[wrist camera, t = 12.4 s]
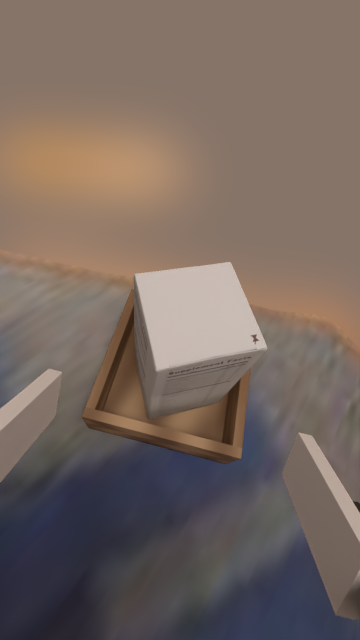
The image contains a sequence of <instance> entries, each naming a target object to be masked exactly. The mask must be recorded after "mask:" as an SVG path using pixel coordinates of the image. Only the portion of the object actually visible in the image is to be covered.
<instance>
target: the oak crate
mask: <svg viewBox="0 0 360 640" xmlns="http://www.w3.org/2000/svg"><path fill="white" fill-rule="evenodd" d="M249 378H250V369H249V370H248V371H247V372H246V373H245V374H244V375H243V376H242V377H241V378H240V379H239V381H238V382H237V383H236V384H235V385H234V386H233V387H232V388H231V389H230V390H229V392H228V393H227V394H226V395H225V396H224V397H223V398H222V399H221V400H220V401H219V403H216V404H213V405H209V406H204V407H200V408H196V409H192V410H188V411H184V412H180V413H176V414H172V415H168V416H164V417H159V418H155V419H148V418H147V414H146V410H145V405H144V400H143V395H142V391H141V386H140V381H139V376H138V371H137V366H136V360H135V332H134V290H133V289H131V292H130V294H129V297H128V300H127V302H126V305H125V307H124V310H123V312H122V315H121V317H120V320H119V323H118V325H117V328H116V330H115V333H114V335H113V338H112V340H111V343H110V346H109V348H108V351H107V353H106V356H105V358H104V361H103V363H102V366H101V369H100V371H99V374H98V376H97V379H96V381H95V384H94V387H93V389H92V392H91V394H90V397H89V399H88V402H87V404H86V407H85V410H84V412H83V415H82V418H83V419H84V421H85V422H86V424H87V425H88V427H89V428H92V429H95V430H99V431H103V432H107V433H110V434H114V435H118V436H122V437H126V438H129V439H133V440H137V441H141V442H145V443H148V444H152V445H156V446H160V447H163V448H167V449H171V450H175V451H179V452H182V453H186V454H190V455H194V456H198V457H201V458H205V459H209V460H213V461H216V462H220V463H224V464H226V463H229V462H232V461H236V460H239V459H241V454H242V445H243V435H244V426H245V416H246V407H247V397H248V387H249Z"/></svg>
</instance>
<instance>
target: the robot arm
mask: <svg viewBox="0 0 360 640" xmlns="http://www.w3.org/2000/svg"><path fill="white" fill-rule="evenodd" d="M62 373H63V372H60V371H56V370H52V369H48V370H47V371H45V372H44V373H43V374H42V375H41V376H39V377H38V378H37V379H36V380H35V381H33V382H32V383H31V384H30V385H29V386H27V387H26V388H25V389H24V390H23V391H21V392H20V393H19V394H18V395H16V396H15V397H14V398H13V399H12V400H10V401H9V402H8V403H7V404H6V405H4V406H3V407H2V408H1V409H0V483H1V481H2V480H3V479H4V478H5V477H6V475H7V474H8V473H9V472H10V471H11V469H12V468H13V467H14V466H15V465H16V463H17V462H18V461H19V460H20V458H21V457H22V456H23V455H24V454H25V452H26V451H27V450H28V449H29V448H30V446H31V445H32V444H33V443H34V442H35V440H36V439H37V438H38V437H39V436H40V434H41V433H42V432H43V431H44V430H45V428H46V427H47V426H48V425H49V423H50V422H51V421H52V420H53V419H54V417H55V415H56V409H57V403H58V397H59V391H60V385H61V379H62ZM282 476H283V479H284V481H285V484H286V486H287V489H288V492H289V494H290V497H291V500H292V502H293V505H294V507H295V510H296V513H297V515H298V518H299V521H300V523H301V526H302V528H303V531H304V534H305V536H306V539H307V541H308V544H309V547H310V549H311V552H312V555H313V557H314V560H315V562H316V565H317V568H318V570H319V573H320V575H321V578H322V581H323V583H324V586H325V589H326V591H327V594H328V596H329V599H330V602H331V604H332V607H333V609H334V612H335V615H338V616H342V617H346V618H350V619H354V620H357V619H358V617H359V615H360V503H358V502H354V501H352V500H351V498H350V496H349V495H348V493H347V492H346V490H345V488H344V487H343V485H342V483H341V482H340V480H339V479H338V477H337V475H336V474H335V472H334V471H333V469H332V467H331V466H330V464H329V463H328V461H327V459H326V458H325V456H324V454H323V453H322V451H321V450H320V448H319V446H318V445H317V443H316V442H315V440H314V438H313V437H312V436H311V435H307V434H303V433H299V432H298V434H297V437H296V439H295V442H294V444H293V447H292V449H291V452H290V454H289V457H288V459H287V462H286V464H285V467H284V469H283V472H282Z"/></svg>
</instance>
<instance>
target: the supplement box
mask: <svg viewBox="0 0 360 640" xmlns="http://www.w3.org/2000/svg"><path fill="white" fill-rule="evenodd" d="M134 332H135V360H136V366H137V371H138V376H139V381H140V386H141V391H142V395H143V400H144V405H145V410H146V414H147V418H148V419H155V418H159V417H164V416H168V415H172V414H176V413H180V412H184V411H188V410H192V409H196V408H200V407H204V406H209V405H213V404H216V403H219V401H220V400H221V399H222V398H223V397H224V396H225V395H226V394H227V393H228V392H229V390H230V389H231V388H232V387H233V386H234V385H235V384H236V383H237V382H238V381H239V379H240V378H241V377H242V376H243V375H244V374H245V373H246V372H247V371H248V370H249V369H250V368H251V366H252V365H253V364H254V363H255V362H256V361H257V360H258V359H259V358H260V357H261V356H262V354H263V353H264V352H265V351H266V350H267V346H266V343H265V341H264V338H263V336H262V334H261V331H260V329H259V327H258V324H257V322H256V320H255V317H254V315H253V313H252V310H251V308H250V306H249V303H248V301H247V299H246V297H245V294H244V292H243V290H242V287H241V285H240V283H239V280H238V278H237V276H236V273H235V271H234V269H233V266H232V264H231V263H230V262H225V263H218V264H211V265H203V266H195V267H186V268H179V269H171V270H163V271H155V272H147V273H138V274H134Z"/></svg>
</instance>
